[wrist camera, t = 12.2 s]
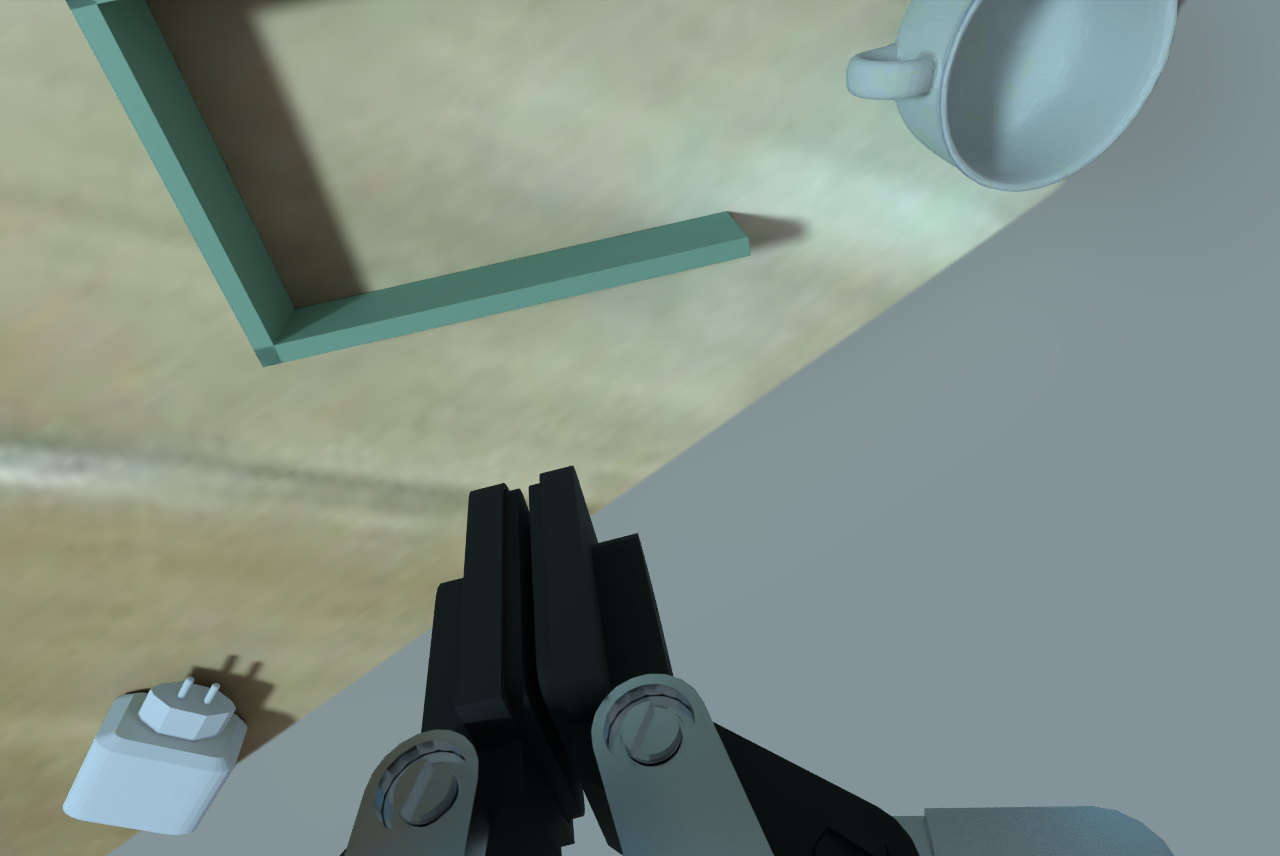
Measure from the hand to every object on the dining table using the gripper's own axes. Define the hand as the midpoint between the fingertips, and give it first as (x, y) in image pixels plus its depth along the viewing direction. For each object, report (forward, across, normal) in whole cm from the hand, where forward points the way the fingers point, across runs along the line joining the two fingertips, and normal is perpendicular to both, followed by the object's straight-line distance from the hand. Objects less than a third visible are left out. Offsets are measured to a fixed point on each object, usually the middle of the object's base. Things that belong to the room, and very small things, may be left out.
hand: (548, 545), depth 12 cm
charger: (+31, +37, +34) cm, 59 cm away
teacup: (+31, -22, 0) cm, 38 cm away
